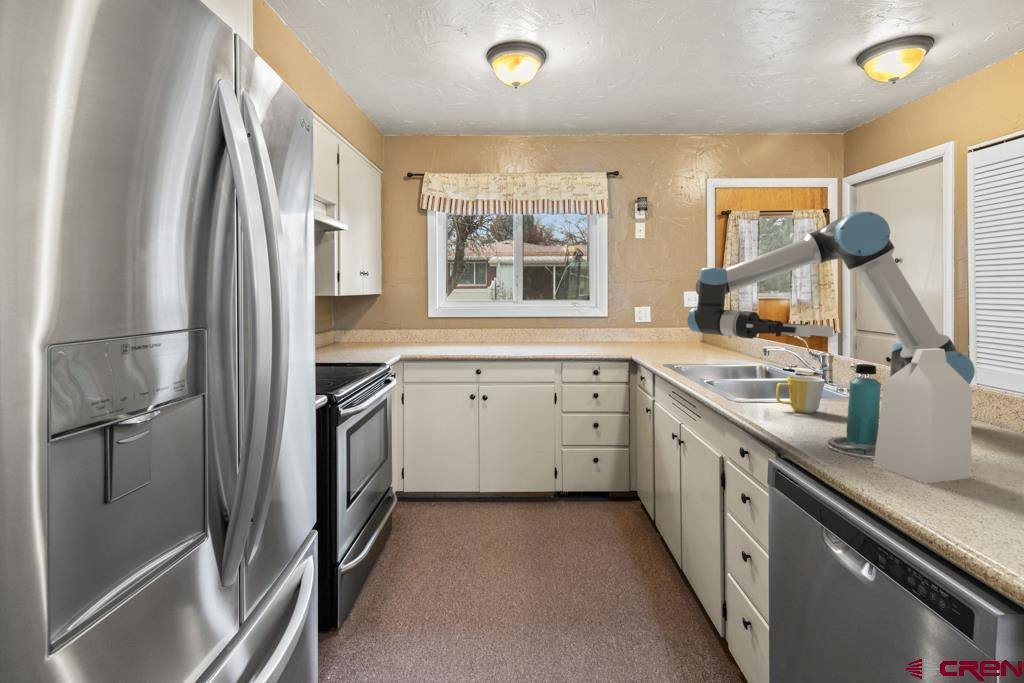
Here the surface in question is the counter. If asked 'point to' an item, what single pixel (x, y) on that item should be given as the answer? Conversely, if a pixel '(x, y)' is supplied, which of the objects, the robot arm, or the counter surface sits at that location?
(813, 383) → the mug
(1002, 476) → the counter surface
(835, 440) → the grey round plate
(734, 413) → the counter surface
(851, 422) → the beverage bottle
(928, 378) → the milk
